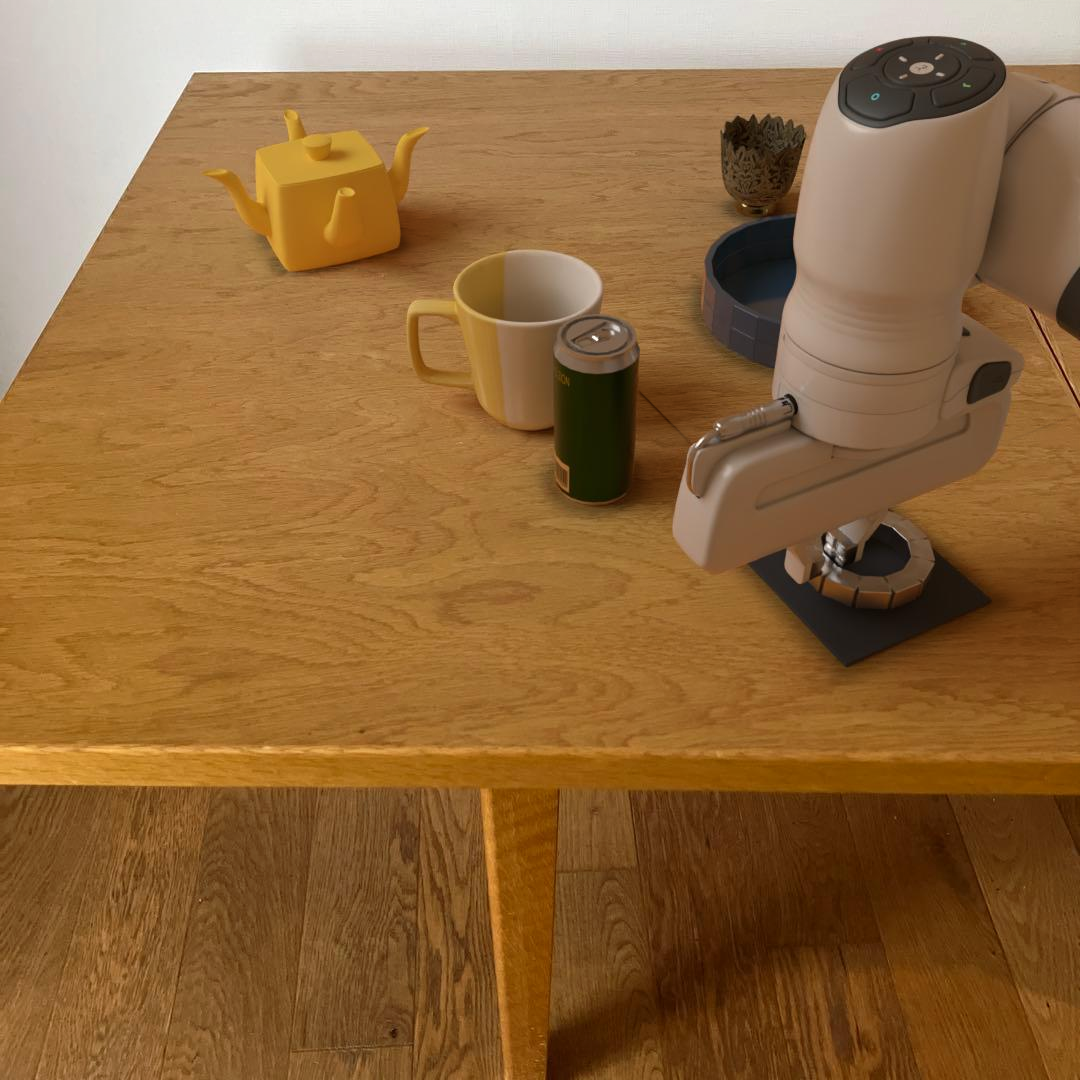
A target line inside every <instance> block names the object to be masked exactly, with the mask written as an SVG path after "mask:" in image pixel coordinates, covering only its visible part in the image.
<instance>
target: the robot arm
mask: <svg viewBox="0 0 1080 1080" xmlns="http://www.w3.org/2000/svg"><path fill="white" fill-rule="evenodd" d="M811 137H812V138H811V141H810V144H809V148H808V152H807V157H806V161H805V166H804V170H803V175H802V180H801V185H800V190H799V196H798V202H797V207H796V214H797V215H796V222H795V229H794V237H793V246H794V253H795V259H796V265H797V272H796V278H795V282H794V285H793V287H792V289H791V291H790V293H789V295H788V297H787V300H786V302H785V305H784V309H783V314H782V321H781V328H780V335H779V342H778V349H777V357H776V364H775V369H774V370H773V379H772V385H771V396H772V400H770V401H766V402H763V403H760V404H758V405H757V406H754V407H753V408H750V409H748V410H746V411H744V412H743V411H742V412H739V413H733V414H729V415H728V414H727V415H725V416H723V417H722V418H719V419H717V420H716V421H714V422H713V423H712V425H711V430H708V431H707V432H706V433H704V434H703V435H702V436H701V437H700V438H699V439H698V440H697V441H696V442H694V443H693V444H691V445H690V447H689V449H688V452H687V455H686V463H685V466H684V469H683V473H682V477H681V480H680V485H679V489H678V493H677V497H676V502H675V506H674V511H673V513H674V514H673V519H672V528H671V530H672V531H671V533H672V536H673V538H674V541H675V542H676V543H677V545H678V546H679V547H680V549H681V550H682V552H684V554H685V555H686V556H687V557H688V558H689V559H690V560H691V561H692V562H693V563H694V564H695V565H696V566H697V567H698V568H699V569H701V570H703V571H704V572H705V573H707V574H708V575H711V576H718V575H722V574H724V573H727V572H729V571H732V570H734V569H736V568H739V567H741V566H744V565H748V564H747V563H749V562H752V561H755V560H757V559H760V558H762V557H765V556H767V555H770V554H772V553H775V552H778V551H780V550H783V549H785V548H786V549H787V552H786V558H785V564H784V565H785V569H786V571H787V573H788V574H789V575H790V576H791V577H792V578H793V579H794V580H795V581H796V582H797V583H798V584H803V583H805V582H807V581H809V580H811V579H814V578H816V577H818V576H820V575H822V572H823V571H822V570H821V569H822V567H823V566H824V562H825V556H824V555H823V554H822V553H821V552H820V551H818V550H815V549H814V546H813V545H812V544H814V543H815V542H816V537H817V536H818V535H821V534H823V533H826V532H827V535H826V541H827V542H826V544H825V545H824V552H825V554H826V555H827V556H828V557H829V558H830V559H831V560H832V561H834V563H835V564H836V565H837V566H838V567H840V568H841V567H844V566H846V565H849V564H852V563H854V562H857V561H859V560H860V559H861V558H862V553H863V549H864V545H865V541H867V540H868V539H869V538H870V536H871V535H872V534H873V533H874V531H875V530H876V529H877V527H878V526H879V525H880V524H881V522H882V521H883V520H884V519H885V517H886V516H887V513H888V509H889V510H890V508H892V507H895V506H897V505H900V504H902V503H905V502H908V501H910V500H912V499H916V498H918V497H920V496H923V495H925V494H928V493H931V492H933V491H935V490H938V489H941V488H943V487H946V486H949V485H951V484H954V483H956V482H959V481H961V480H964V479H967V478H970V477H972V476H975V475H976V474H979V472H980V471H981V470H983V469H984V468H985V467H986V465H987V464H988V463H989V461H990V460H992V458H993V457H994V455H995V454H996V452H997V449H998V447H999V444H1000V441H1001V439H1002V435H1003V432H1004V429H1005V427H1006V424H1007V420H1008V417H1009V416H1008V415H1009V412H1010V407H1011V403H1012V391H1011V389H1012V388H1013V387H1014V386H1015V385H1017V383H1018V381H1019V380H1020V377H1021V375H1022V373H1023V370H1024V365H1025V361H1026V360H1025V356H1024V355H1022V353H1020V352H1019V350H1017V349H1016V348H1015V347H1014V346H1012V345H1011V344H1010V343H1008V342H1007V341H1006V340H1005V339H1003V338H1002V337H1001V336H999V335H998V334H996V333H995V332H994V331H992V330H991V329H990V328H988V327H987V326H986V325H983V324H982V323H981V322H979V321H978V320H976V319H974V318H973V317H971V316H969V315H968V314H966V313H964V312H963V311H962V309H963V308H962V306H963V299H964V296H965V293H966V291H967V290H969V289H972V288H974V287H977V286H979V285H982V283H983V284H984V285H986V286H988V287H989V288H992V289H993V290H995V291H998V292H999V293H1001V294H1003V295H1005V296H1006V297H1009V298H1010V299H1013V300H1014V301H1016V302H1018V303H1020V304H1021V305H1023V306H1026V307H1027V308H1029V309H1031V310H1032V311H1035V312H1037V313H1039V314H1040V315H1042V316H1044V317H1046V318H1048V319H1050V320H1052V321H1053V322H1055V323H1056V324H1057V326H1058V327H1059V328H1060V329H1062V330H1063V331H1065V332H1066V333H1067V334H1068V335H1070V336H1072V337H1073V338H1075V339H1076V340H1078V341H1079V342H1080V92H1077V91H1074V90H1072V89H1069V88H1066V87H1064V86H1061V85H1058V84H1056V83H1053V82H1051V81H1048V80H1045V79H1042V78H1040V77H1038V76H1034V75H1032V74H1028V73H1024V72H1018V71H1011V70H1008V67H1007V64H1005V62H1004V61H1003V59H1002V58H1001V57H1000V56H999V55H998V54H997V53H995V52H994V51H993V50H991V49H989V48H988V47H986V46H985V45H982V44H979V43H978V42H975V41H972V40H968V39H964V38H960V37H953V36H946V35H945V36H943V35H921V36H911V37H905V38H904V37H903V38H898V39H894V40H891V41H887V42H884V43H882V44H879V45H876V46H874V47H872V48H869V49H867V50H865V51H863V52H861V53H859V54H858V55H856V56H855V57H854V58H852V59H851V60H849V61H848V62H847V63H846V64H845V65H844V66H843V67H842V69H841V70H840V71H839V73H838V74H837V76H836V78H835V79H834V81H833V83H832V84H831V87H830V89H829V91H828V93H827V95H826V98H825V100H824V102H823V105H822V108H821V110H820V113H819V115H818V118H817V122H816V125H815V127H814V130H813V134H812V136H811Z"/></svg>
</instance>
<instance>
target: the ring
mask: <svg viewBox="0 0 1080 1080" xmlns="http://www.w3.org/2000/svg"><path fill="white" fill-rule="evenodd" d="M890 511H891V510H890ZM890 511H888V513H887V516H886V517H885V519H884V520H883V521H882V522H881V524H880V525H879V526H878V527H877V529H876V530H875V531H874V533H873V534H872V535H871V536H870V537H873V538H875V539H878V540H880V541H883V542H886V543H888V544H889V545H890V546H891V547H892V548H893V549H894V550H895V551H896V552H898V553H899V554H900V555H901V556H902V557H903V560H904V564H905V567H904V569H903V570H901V571H898V572H896V573H893V574H891V575H888V576H885V577H875V576H860V575H857V574H855V573H852V572H850V571H847V570H845V569H843V568H840V567H838V566H837V565H836V564H835V563H834V562H833V561H832V560H831V559H830V558H829V557H828V556H827V555H826V554H825V553H824V551H823V545H824V543H825V542H826V535H827V532H826V533H823V534H821V535H818V536H817V537H816V542H815V543H814V544H812V545H813V546H814V549H815V550H818V551H820V552H821V553H822V554H823V555H824V556H825V562H824V566H823V567H822V569H821V570H822V571H823V572H822V575H820V576H818V577H816V578H814V579H811V580H809V581H808V582H809V583H810V584H811V585H812V587H813V588H814V589H815V590H816V591H817V592H820V591H822V595H823V596H826V597H828V598H831V599H833V600H835V601H838V602H840V603H842V604H845V605H847V606H850V607H851V606H852V605H853V603H854V604H855V607H856V608H867V609H887V608H888V606H889V607H890V608H891V609H892V608H895V607H898V606H900V605H903V604H905V603H908V602H910V601H913V600H915V599H916V598H917V597H919V596H920V595H921V593H922V591H923V590H924V588H925V586H926V585H927V583H928V581H929V580H930V577H931V574H932V571H933V567H934V561H935V559H934V555H933V551H932V548H933V547H932V545H931V541H930V539H928V536H927V534H925V533H924V532H923V531H922V530H921V529H920V528H919V527H918V526H916V525H915V524H914V523H913V522H912V521H911V520H910V519H908V518H906V519H905V518H904V516H903V515H901V514H899V513H896V512H893V511H891V512H890ZM931 547H932V548H931Z"/></svg>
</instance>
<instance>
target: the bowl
mask: <svg viewBox="0 0 1080 1080" xmlns="http://www.w3.org/2000/svg"><path fill="white" fill-rule="evenodd" d="M796 215H797V213H788V214H780V215H770V216H766V217H760V218H758V219H754V220H751V221H747V222H744V223H741V224H739V225H738V226H735V227H734V228H732V229H729V230H728V231H726V232H724V233H722V234H721V235H720V236H719V237H718V238H717V239H716V240H715V241H714V242H713V243H712V244H710V246H709V249H708V251H707V253H706V256H705V257H704V260H703V271H702V283H701V295H700V310H701V317H702V320H703V322H704V323H705V325H706V328H707V329H708V331H710V334H711V335H713V336H714V337H715V338H716V340H718V341H719V342H720V343H721V344H722V345H724V346H725V347H726V348H727V349H729V350H730V351H731V352H734V353H735V354H737V355H738V356H740V357H743V358H745V359H746V360H749V361H751V362H753V363H756V364H759V365H762V366H763V367H767V368H770V369H773V370H775V364H776V357H777V349H778V342H779V335H780V328H781V321H782V314H783V309H784V305H785V302H786V300H787V297H788V295H789V293H790V291H791V289H792V287H793V285H794V282H795V278H796V272H797V265H796V259H795V253H794V246H793V237H794V229H795V222H796Z"/></svg>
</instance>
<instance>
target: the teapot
mask: <svg viewBox="0 0 1080 1080" xmlns="http://www.w3.org/2000/svg"><path fill="white" fill-rule="evenodd" d="M283 119H284V121H285V124H286V128H287V132H288V141H284V142H279V143H276V144H272V145H271V144H270V145H268V146H267V145H266V146H264V147H261V148H258V149H257V150H255V173H254V175H255V194H256V195H255V196H256V200H254V199H252V198H251V197H250V196H249V194H248V192H247V191H246V188H245V186H244V184H243V182H242V180H241V179H240V177H238V175H237V174H236V173H234V172H233V171H231V170H230V169H225V168H212V169H211V168H210V169H205V170H202V171H201V172H200V174H201V175H202V176H204V177H208V178H210V179H213V180H215V181H218V182H219V183H220V184H222V185H223V186H224V187H225V189H226V190H227V191H228V193H229V195H230V197H231V199H232V201H233V204H234V206H235V208H236V210H237V213H238V214H239V216H240V218H241V219H242V222H244V223H245V225H246V226H247V227H248V228H250V229H251V231H254V232H255V233H257V234H259V235H261V236H265V237H266V239H267V241H268V242H269V243H268V244H269V245H270V247H271V248H272V250H273V253H274V254H275V255H276V257H277V258H278V260H279V262H280V263H281V265H282V266H283V268H284V269H285V270H286V271H288V272H303V271H311V270H316V269H322V268H326V267H332V266H337V265H342V264H346V263H351V262H355V261H358V260H363V259H366V258H370V257H373V256H376V255H380V254H384V253H388V252H391V251H393V250H396V249H397V248H399V246H400V243H401V224H400V218H399V212H398V208H397V207H398V205H400V204H401V202H402V200H403V199H404V198H405V196H406V194H407V191H408V188H409V184H410V183H409V182H410V175H411V173H410V172H411V162H412V161H411V160H412V155H413V153H414V152H413V151H414V148H415V146H416V145H417V143H418V141H419V140H420V139H421V138H422V137H423V136H424V135H425V134H426V133H428V132H429V131H430V127H428V126H423V127H418V128H414V129H411V130H409V131H407V132H406V133H404V134H403V135H402V136H401V138H400V139H399V140H398V142H397V144H396V149H395V152H394V157H393V161H392V165H391V167H390V168H389V170H388V171H387V168H386V165H385V162H384V160H383V159H382V157H381V156H380V155H379V154H378V152H377V151H376V150H375V149H374V147H373V146H372V145H371V144H370V142H369V141H368V140H367V139H366V138H365V137H364V135H363V134H361V133H360V132H359V131H358V130H344V131H337V132H331V133H325V134H324V133H313V134H310V135H308V134H307V132H306V130H305V127H304V125H303V123H302V120H301V117H300V116H299V114H298V113H297V112H296V111H295V110H294V109H289V108H288V109H285V110H284V111H283Z"/></svg>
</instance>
